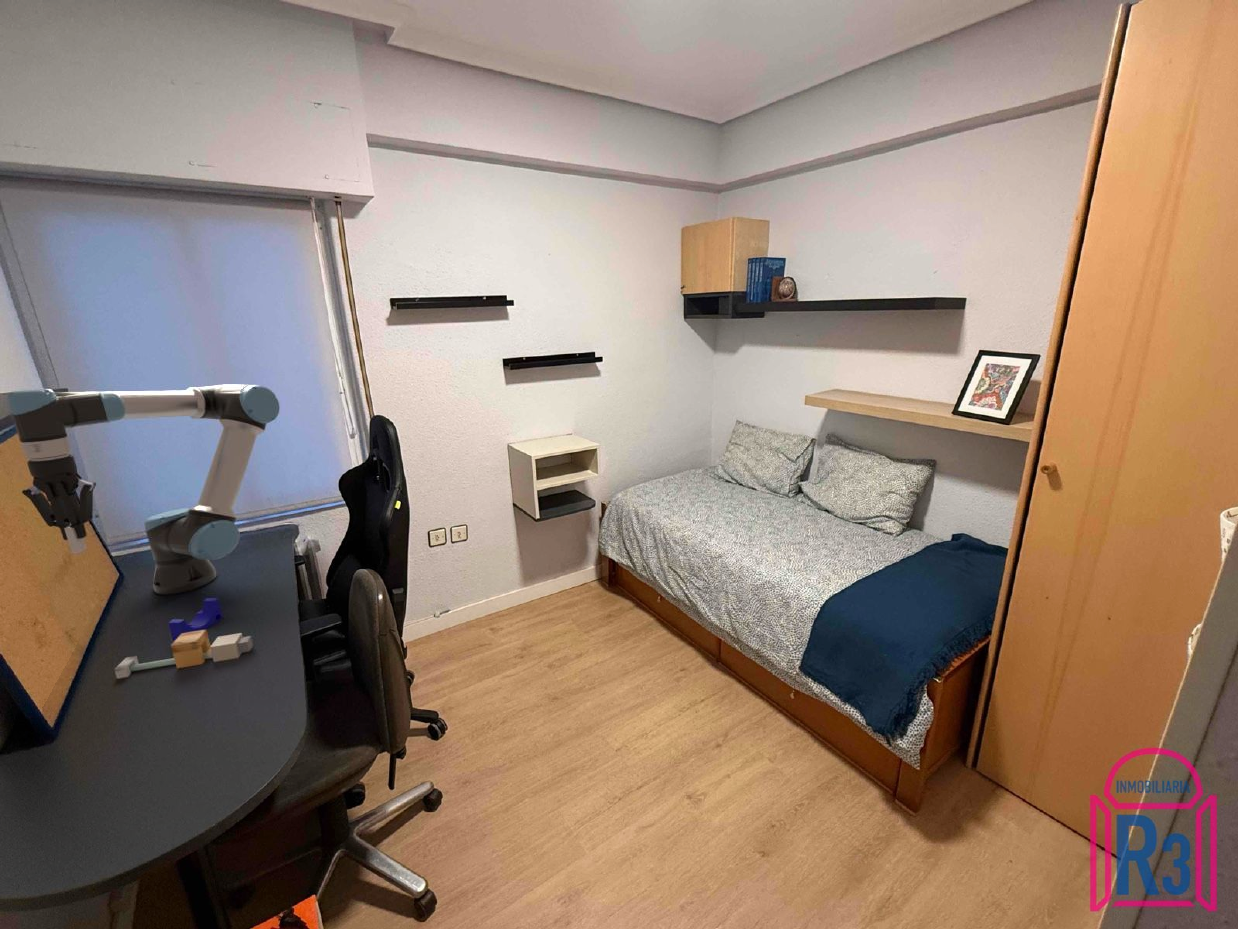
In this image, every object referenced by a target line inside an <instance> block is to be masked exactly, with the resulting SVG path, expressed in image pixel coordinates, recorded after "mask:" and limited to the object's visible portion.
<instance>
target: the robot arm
mask: <svg viewBox="0 0 1238 929" xmlns="http://www.w3.org/2000/svg"><path fill="white" fill-rule="evenodd" d="M6 400H7V406H8V413H9V415H10V417H11V419H12V418H13V419H12V421H13V420H14V421H15V423H14V422H13V424H14V427H15V429H16V433H17V436H18V438H19V443H20V445H21V448H22V452H23V454H24V457H25V459H27V460H28V461H27V462H26V464H27V467H28V471H29V472H30V473H29V474H30V475H31V477H33V479H32V485H31V486H30V487H28V488H25V489H22V491H21V493H22V495H24V496H25V497H26V498H28V499H29V500H30V501H31V503H32V504H33V506H34V507H35V508H36V510H37V512H38V513H39V515H40V516H41V518H42V519H43V521H44V522H45V524H46V525H47V526H48V527H50V528H51V527H55V528H58V529H60V532H61V535H62V538H63V540H64V541H68V544H69V548H70V550H71V554H74V555H75V554H80V553H83V552H84V551H85V550H87V549H88V547H87V543H86V540H85V537H87V535H88V534H87V530H86V527H85V524H87V522H89V521H91V520H93V518H94V517H93V512H94V510H93V508H94V506H93V505H94V504H93V502H94V501H93V500H94V497H93V496H94V494H93V493H94V492H93V491H94V489H95V487H96V486H97V483H96V482H95V481H87V480H84V479H83V478H82V476H81V475H80V474H79V473H78V467H77V464H76V460H75V457H74V455H72V454H71V453H72V452H73V450H72V447H71V444H70V441H69V437H68V434H67V431H66V430H67V429H70V428H75V427H81V426H82V427H84V426H91V425H97V424H103V423H104V424H105V423H107V424H109V423H111V422H116V421H120V420H127V419H132V420H133V419H150V418H151V419H155V418H171V417H172V418H173V417H174V418H175V417H190V418H191V419H195V420H197V419H208V420H219V423H220V425H221V426H222V427H223V428H222V431H221V434H220V438H219V440H218V444H217V445H216V446H217V447H216V449H215V452H214V456H213V458H212V461H211V463H210V464H211V465H210V467H209V470H208V473H207V477H206V479H205V481H204V485H203V488H202V491H201V493H200V497H199V500H198V503H197V504H196V505H194V506H193V507H190V508H189V507H184V508H179V509H173V510H169V511H165V512H161V513H158V514H155V515H152V516H150V517H147V519H146V520H144V531H145V534H146V536H147V537H146V538H147V540H148V543H149V547H150V552H151V554H152V558H153V560H154V564H155V568H154V575H153V581H152V586H153V590H154V593H156V594H159V595H173V594H174V595H175V594H180V593H186V592H189V591H192V590H195V589H198V588H200V587H204V586H205V585H207V584H209V583H211V582H212V581H214V580H215V579H216V577H217V571H216V568H215V566H214V565H213V564H212V563H211V562H210V561H211V560H219V559H221V558H224V557H226V556H227V555H229V554H230V553H232V551H234V550H235V548H236V547H237V545H238V543H239V541H240V535H241V534H240V530H239V527H238V526H237V525H236V521H237V518H238V516H237V515H236V514H235V512H234V507H235V505H236V502H237V498H238V495H239V492H240V489H241V486H242V483H243V479H244V476H245V473H246V470H247V467H248V464H249V460H250V458H251V454H252V451H253V448H254V445H255V442H256V438H257V436H259V435H261V434H263V433H264V432H265V430H266V427H267V424H269V423H271V422H273V421H275V420H276V419H277V417H278V416H279V413H280V409H281V408H280V402H279V399H278V398H277V397H276V394H275V393H274V392H273V391H272V390H271V389H270V388H268V387H266V386H264V385H258V384H254V383H253V384H252V383H248V384H226V383H225V384H217V385H210V386H198V387H197V386H195V387H188V388H187V389H186V390H162V391H161V390H144V391H143V390H141V391H140V390H139V391H138V390H137V391H133V390H131V391H127V390H126V391H111V390H110V391H105V390H104V391H98V390H97V391H61V392H60V391H53V389H50V388H39V389H38V388H37V389H36V388H35V389H25V390H24V389H23V390H16V391H15V390H14V391H11V392H8V394H7V395H6ZM78 489H79V490H80V492H79V500H78V492H77V490H78ZM43 493H44V494H43Z"/></svg>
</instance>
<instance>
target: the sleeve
mask: <svg viewBox="0 0 1238 929" xmlns="http://www.w3.org/2000/svg"><path fill="white" fill-rule="evenodd" d="M207 630H208V629H205V630H200V631H193V632H187V633H181V635H180V636H179V637H178V638H177V639H176V640H175V641H174V642H173V641H172V644H171V645H170V648H171V651H172V652H171V653H172V656H173V658H174V659H175V663H176V664H175V666H176V668H177V669H182V668H188V667H193V666H198V665H203V664H204V663H205V661H206V659H205V658H204V655H203V653H207V650H209V649H210V646H211V643H210V639H209V634H208V631H207Z"/></svg>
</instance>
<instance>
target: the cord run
mask: <svg viewBox="0 0 1238 929" xmlns="http://www.w3.org/2000/svg"><path fill="white" fill-rule="evenodd" d="M253 647H254V644H253V640H252V635H247V636H243V633H242V632H239V633H234V634H228V635H227V634H226V635H221V636H217V637H216V639H215V640H214V641H213V643H211V644H210V649H209V650H207V653H203V655H204V658H205V660H206V659H207V660H209V659H212V660H213V663H216V662H221V661H227V660H228V661H229V660H233V659H238V658H239V657H240V656H241V654H242V653H246V652H250V651H251V649H252V648H253ZM137 656H138V655H134V656H128V657H125V658H124V659H123V660H122V661H121V662H120V663H119V664H118V665H117V666H116V667H115V668H114V672H115V676H116V679H123V678H124V679H125V678H128V677H129V676H130V675H131V673H132V672H137V671H143V670H149V669H155V668H161V667H166V666H172V665H176V663H175V659H174V657H172V658H167V659H161V660H154V661H149V662H143V663H139V659H138V657H137Z"/></svg>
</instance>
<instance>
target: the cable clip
mask: <svg viewBox="0 0 1238 929" xmlns="http://www.w3.org/2000/svg"><path fill="white" fill-rule="evenodd" d="M202 602H203V605H202V606H203V608H202V609H201V610H199V611H198V612H196V614H195V616H194V618H193V619H192V620H191V621H190V622H189V623H187V621H186V619H184V618H182V619H180V618H179V619H178V618H173V619H172V620H170V621H168V622H167V623H168V627H169V631H170V634H171V637H172V643H173V642H174V641H175V640H176V639H177V638H178V637H179V636H180V635H181V633H187V632H193V631H200V630H208V628H210V627H211V626H212V625H214V624H216V622H219V621H220V620H221V619H223V617H224V616H223V612H222V608H221V605H220V600H219V598H218V597H207V598H204V600H202Z"/></svg>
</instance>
